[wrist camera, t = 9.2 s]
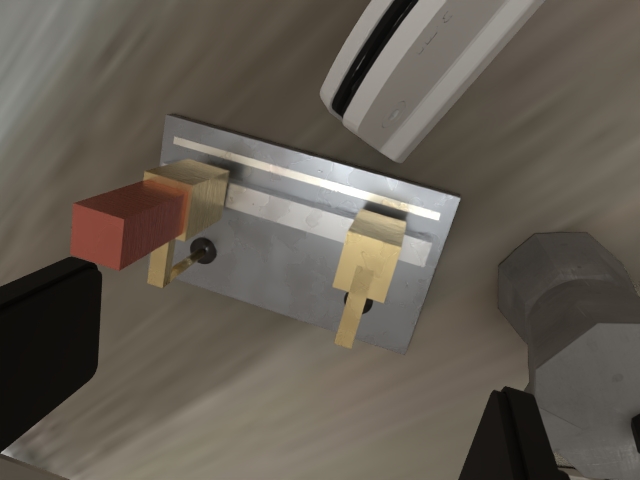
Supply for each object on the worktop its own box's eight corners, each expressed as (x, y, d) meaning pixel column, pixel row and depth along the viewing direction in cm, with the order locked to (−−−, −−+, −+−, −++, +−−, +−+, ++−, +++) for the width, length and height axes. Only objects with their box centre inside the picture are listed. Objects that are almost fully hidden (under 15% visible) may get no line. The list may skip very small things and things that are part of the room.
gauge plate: (405, 347, 41) (398, 411, 33) (154, 264, 44) (92, 304, 36) (459, 194, 36) (467, 225, 28) (173, 113, 39) (106, 120, 31)
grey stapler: (398, 167, 37) (343, 155, 28) (357, 128, 38) (292, 104, 29) (572, -31, 31) (572, -127, 22) (515, -69, 32) (494, -175, 23)
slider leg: (218, 263, 41) (115, 347, 27) (181, 251, 41) (62, 328, 28) (235, 168, 38) (129, 211, 25) (195, 156, 38) (69, 192, 25)
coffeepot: (496, 362, 40) (543, 562, 23) (450, 264, 38) (464, 402, 21) (705, 297, 35) (959, 493, 18) (661, 182, 33) (896, 278, 16)
